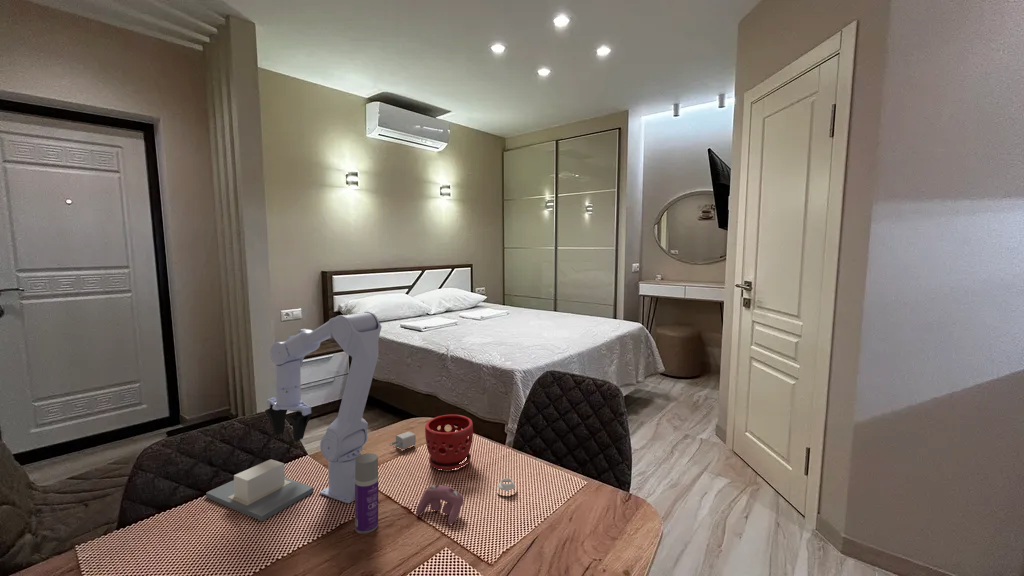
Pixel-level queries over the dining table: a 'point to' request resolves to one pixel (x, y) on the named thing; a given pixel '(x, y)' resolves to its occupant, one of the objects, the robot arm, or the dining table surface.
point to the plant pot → (449, 441)
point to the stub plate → (261, 498)
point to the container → (366, 493)
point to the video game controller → (434, 497)
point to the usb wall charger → (404, 440)
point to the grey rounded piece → (506, 486)
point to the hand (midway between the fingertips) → (288, 436)
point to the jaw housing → (259, 480)
